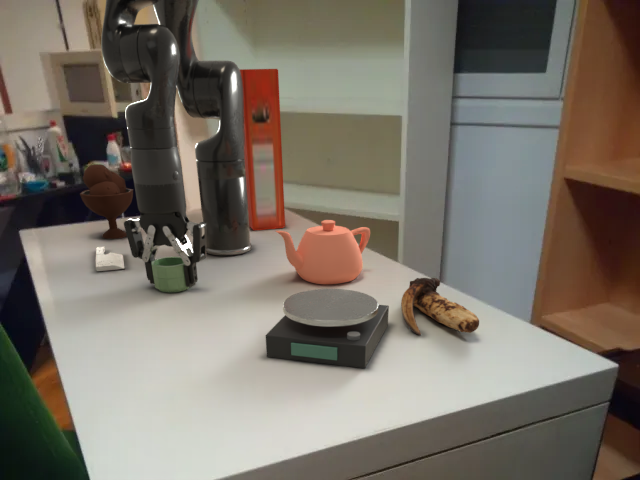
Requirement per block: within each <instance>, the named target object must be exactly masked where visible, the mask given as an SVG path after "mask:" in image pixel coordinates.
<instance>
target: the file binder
mask: <svg viewBox="0 0 640 480" xmlns="http://www.w3.org/2000/svg"><path fill="white" fill-rule="evenodd" d="M239 70H240V73H241V76H242V81H243V91H244V131H245V144H244V156H245V158H244V159H245V171H246V184H247V199H248V214H249V228H250V229H251V230H252V231H263V230H275V229H284V228H286V213H285V211H286V210H285V191H284V190H285V189H284V172H283V171H284V170H283V149H282V126H281V125H282V124H281V107H280V106H281V101H280V82H279V80H280V79H279V69H278V68H247V69H246V68H245V69H244V68H243V69H240V68H239Z"/></svg>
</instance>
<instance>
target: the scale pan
mask: <svg viewBox="0 0 640 480" xmlns="http://www.w3.org/2000/svg"><path fill="white" fill-rule="evenodd" d="M378 305H379V302H378V300H377V299H376V298H375V297H373V296H371V295H370V294H368V293H364V292H361V291H357V290H352V289H344V288H319V289H318V288H317V289H310V290H306V291H302V292H297V293H295V294H292V295H290V296H289V297H287V298H286V299H285V300H284V302H283V303H282V312H283V314H284V316H285V315H286V316H287V317H288V318H290V319H291V320H293V321H296V322H299V323H302V324H307V325H312V326H322V327H339V326H349V325H355V324H359V323H362V322H365V321H368V320H370V319H372V318H373V317H374V316H376V314H377V313H378Z"/></svg>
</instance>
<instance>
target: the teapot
mask: <svg viewBox="0 0 640 480" xmlns="http://www.w3.org/2000/svg"><path fill="white" fill-rule="evenodd" d="M320 222H321V223H320V224H321V225H316V226H311V227H308V228H307V229H306V230H305V232H304V233H303V234H302V237H301V238H300V241H299V243H298V245H297V248H296V247H295V244H294V240H293V237H292V235H291V234H290V233H289V232H288V231H285V230H275V232H276V233H278V234H279V235H280V236H281V238H282V239H283V241H284V247H285V248H284V249H285V255H286V259H287V261H288V263H289V264H290V265H291V266H292V267H294V270H295V272H296V273H297V274H298V275H299V277H300V278H301V279H303V280H304V281H306V282H309V283H312V284H317V285H337V284H344V283H349V282H352V281H354V280H355V279H357V278H358V276H359V275H360V274H361V272H362V271H363V268H364V264H363V255H362V254H363V252H364V250H365V248H366V247H367V245H368V244H369V241H370V237H371V229H370V228H369V227H367V226H362V227H358V228H354V229H352V230H350V229H349V228H348V227H345V226H341V225H336V220H333V219H324V220H321V221H320ZM357 235H361V237H360V241H359V244H358V242H357V239H356V238H355V236H357Z"/></svg>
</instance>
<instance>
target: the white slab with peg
mask: <svg viewBox="0 0 640 480" xmlns="http://www.w3.org/2000/svg"><path fill="white" fill-rule="evenodd" d="M105 252H106V247H105V246H97V247H95V258H94V259H95V261H94V264H95V270H96V271H95V272H102V271H103V272H104V271H114V270H115V271H116V270H125V261H124V254H121V253H116V252H111V251H110V252H109V253H106V254H105Z"/></svg>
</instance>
